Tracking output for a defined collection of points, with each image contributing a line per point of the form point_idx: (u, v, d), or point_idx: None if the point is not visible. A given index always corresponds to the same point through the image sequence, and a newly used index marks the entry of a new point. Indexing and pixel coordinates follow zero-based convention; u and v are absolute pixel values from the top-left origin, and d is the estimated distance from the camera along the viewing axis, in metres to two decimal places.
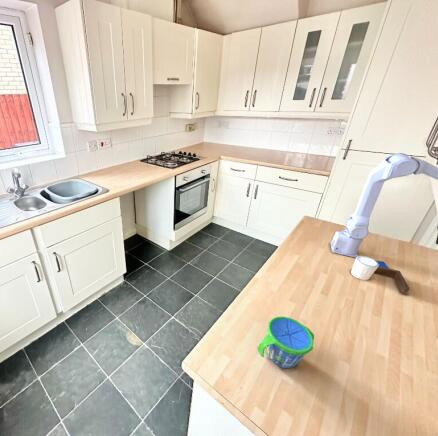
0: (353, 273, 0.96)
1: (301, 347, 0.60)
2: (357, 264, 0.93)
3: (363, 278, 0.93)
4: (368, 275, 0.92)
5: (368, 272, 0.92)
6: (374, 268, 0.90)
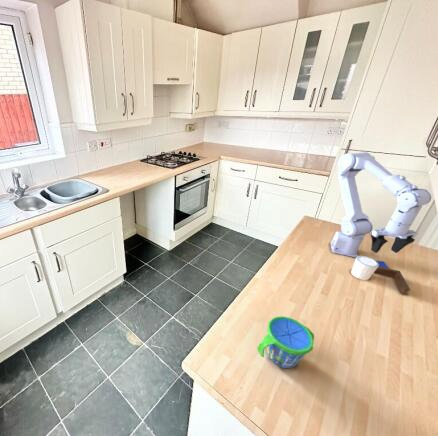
0: (353, 273, 0.96)
1: (301, 347, 0.60)
2: (357, 264, 0.93)
3: (363, 278, 0.93)
4: (368, 275, 0.92)
5: (368, 272, 0.92)
6: (374, 268, 0.90)
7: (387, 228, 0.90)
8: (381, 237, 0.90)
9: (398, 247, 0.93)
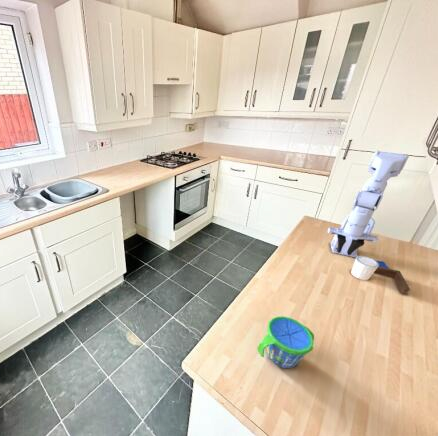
0: (353, 273, 0.96)
1: (301, 347, 0.60)
2: (357, 264, 0.93)
3: (363, 278, 0.93)
4: (368, 275, 0.92)
5: (368, 272, 0.92)
6: (374, 268, 0.90)
7: (344, 228, 0.92)
8: (342, 237, 0.92)
9: (351, 250, 0.93)
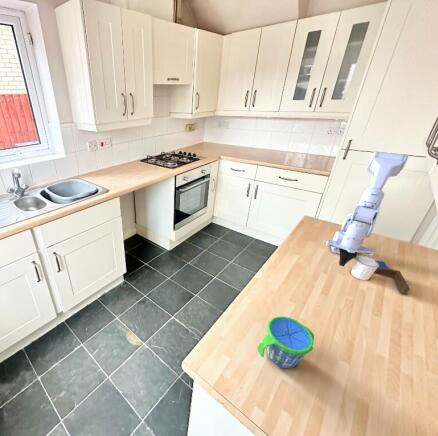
0: (353, 273, 0.96)
1: (301, 347, 0.60)
2: (357, 264, 0.93)
3: (363, 278, 0.93)
4: (368, 275, 0.92)
5: (368, 272, 0.92)
6: (374, 268, 0.90)
7: (342, 241, 0.94)
8: (344, 250, 0.94)
9: (344, 261, 0.96)
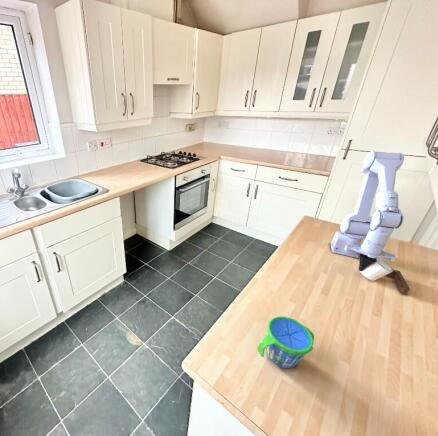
0: (363, 271, 0.94)
1: (301, 347, 0.60)
2: (373, 264, 0.90)
3: (371, 278, 0.92)
4: (378, 277, 0.91)
5: (380, 274, 0.90)
6: (389, 272, 0.88)
7: None
8: (364, 255, 0.91)
9: None
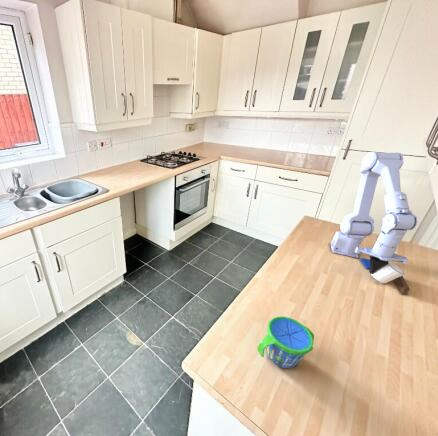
0: (374, 274, 0.92)
1: (301, 347, 0.60)
2: (385, 267, 0.89)
3: (382, 281, 0.91)
4: (389, 280, 0.90)
5: (392, 277, 0.88)
6: (401, 275, 0.87)
7: (372, 248, 0.90)
8: (376, 258, 0.90)
9: None
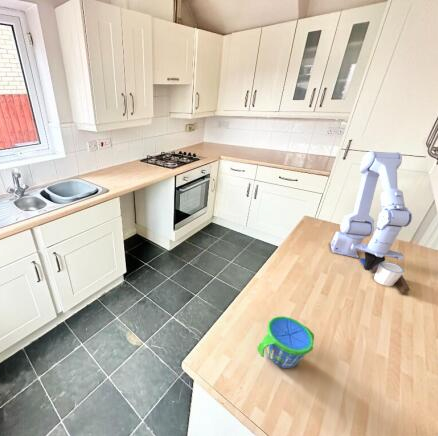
0: (377, 279, 0.93)
1: (301, 347, 0.60)
2: (382, 270, 0.90)
3: (388, 284, 0.90)
4: (393, 281, 0.89)
5: (394, 278, 0.88)
6: (400, 274, 0.87)
7: (368, 244, 0.91)
8: (370, 254, 0.90)
9: (370, 265, 0.92)
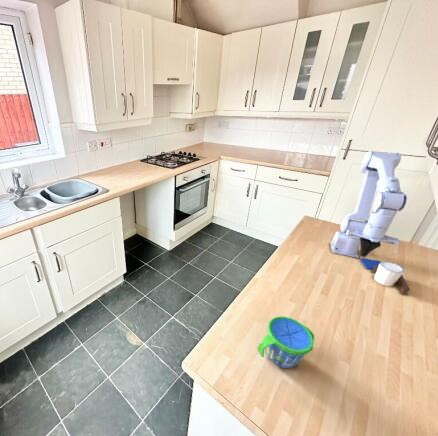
0: (377, 279, 0.93)
1: (301, 347, 0.60)
2: (382, 270, 0.90)
3: (388, 284, 0.90)
4: (393, 281, 0.89)
5: (394, 278, 0.88)
6: (400, 274, 0.87)
7: (363, 230, 0.89)
8: (366, 240, 0.88)
9: (366, 251, 0.90)
